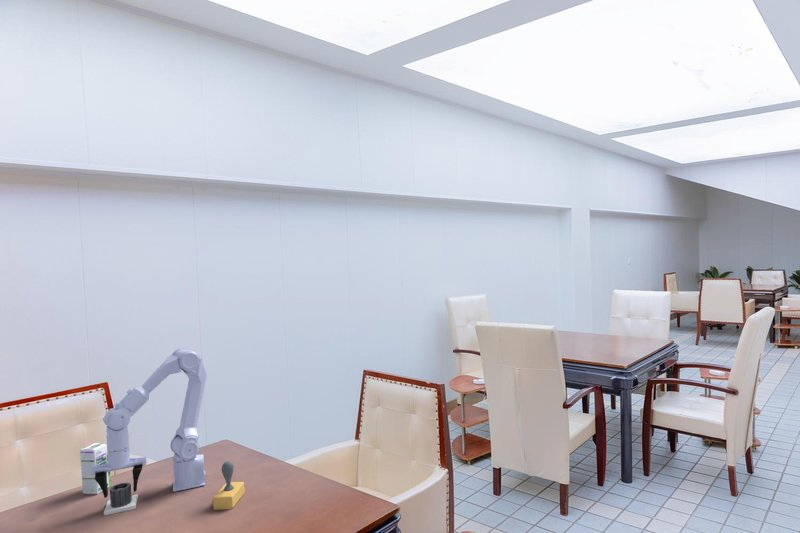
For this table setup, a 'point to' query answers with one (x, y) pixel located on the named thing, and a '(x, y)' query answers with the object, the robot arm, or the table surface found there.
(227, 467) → the rubber stamp
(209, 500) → the table surface
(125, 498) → the gray grooved hollow cylinder
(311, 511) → the table surface
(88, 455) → the syrup box
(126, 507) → the white square peg stand
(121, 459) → the robot arm
